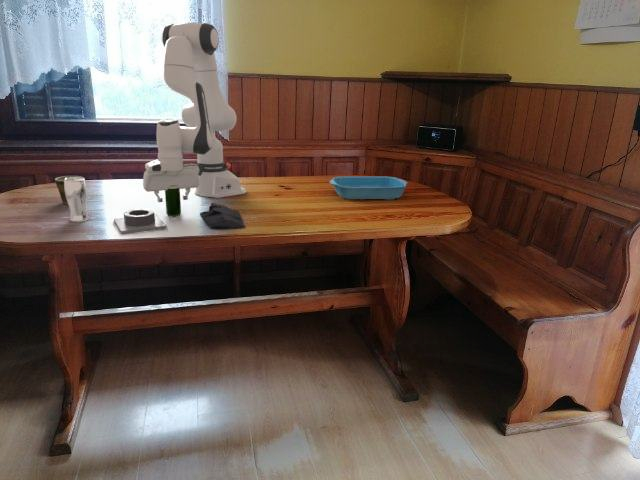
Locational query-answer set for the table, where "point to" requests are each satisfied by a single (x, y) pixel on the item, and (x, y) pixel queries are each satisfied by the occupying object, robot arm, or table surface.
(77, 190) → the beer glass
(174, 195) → the beer can
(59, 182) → the ceramic cup
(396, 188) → the casserole dish
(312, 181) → the table surface
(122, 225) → the barrel holder
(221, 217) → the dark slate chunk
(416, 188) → the table surface
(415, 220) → the table surface
